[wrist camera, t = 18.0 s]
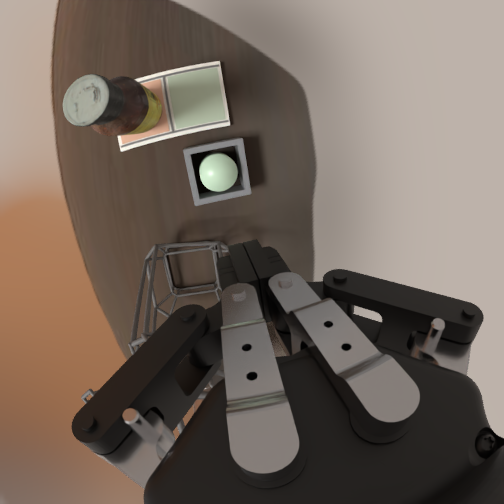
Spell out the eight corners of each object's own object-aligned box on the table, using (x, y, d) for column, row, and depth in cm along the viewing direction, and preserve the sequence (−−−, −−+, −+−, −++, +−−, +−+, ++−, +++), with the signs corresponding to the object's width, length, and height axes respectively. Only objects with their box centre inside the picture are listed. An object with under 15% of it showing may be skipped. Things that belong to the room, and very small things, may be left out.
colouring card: (229, 125, 36) (230, 125, 35) (121, 151, 34) (120, 151, 33) (219, 61, 31) (219, 60, 30) (110, 88, 29) (108, 87, 28)
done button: (235, 181, 39) (240, 187, 36) (202, 188, 39) (203, 195, 35) (230, 149, 37) (234, 151, 34) (196, 155, 37) (196, 159, 33)
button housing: (247, 188, 40) (251, 193, 38) (194, 200, 40) (195, 206, 37) (238, 137, 37) (242, 138, 34) (183, 148, 36) (183, 150, 33)
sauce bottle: (169, 97, 31) (146, 67, 14) (154, 138, 34) (116, 150, 16) (127, 86, 29) (70, 55, 12) (112, 127, 31) (44, 134, 14)
